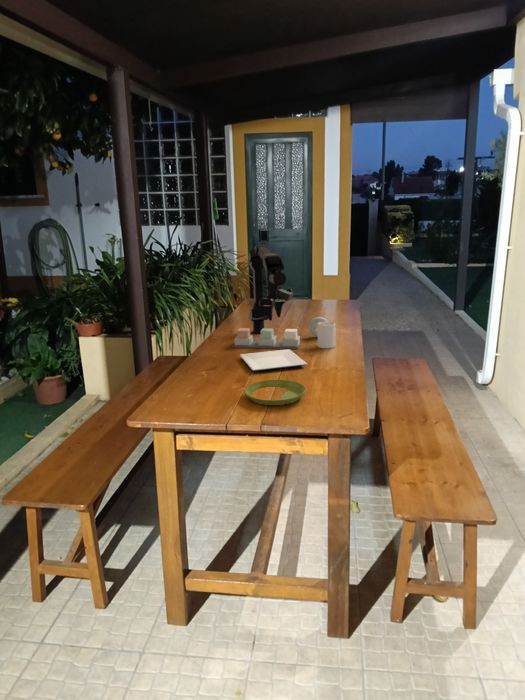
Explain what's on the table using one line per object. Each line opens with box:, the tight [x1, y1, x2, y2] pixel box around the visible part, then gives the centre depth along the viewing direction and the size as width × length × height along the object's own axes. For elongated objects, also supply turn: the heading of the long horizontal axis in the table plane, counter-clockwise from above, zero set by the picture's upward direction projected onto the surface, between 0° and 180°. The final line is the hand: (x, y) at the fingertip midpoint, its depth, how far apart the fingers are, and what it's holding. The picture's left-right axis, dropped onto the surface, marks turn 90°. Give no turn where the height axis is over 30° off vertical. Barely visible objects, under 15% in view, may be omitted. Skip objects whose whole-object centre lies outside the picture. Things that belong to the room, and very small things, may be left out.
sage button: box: [260, 327, 275, 339], centre depth 250 cm, size 5×5×4 cm
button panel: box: [233, 334, 301, 350], centre depth 251 cm, size 10×29×4 cm, turn 79°
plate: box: [239, 349, 308, 372], centre depth 225 cm, size 22×22×2 cm
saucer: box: [244, 379, 306, 406], centre depth 188 cm, size 21×21×3 cm
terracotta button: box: [236, 327, 251, 339], centre depth 252 cm, size 5×5×4 cm
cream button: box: [284, 328, 298, 340], centre depth 247 cm, size 5×5×4 cm
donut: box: [308, 316, 328, 338], centre depth 260 cm, size 10×4×10 cm, turn 83°
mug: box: [317, 320, 336, 349], centre depth 247 cm, size 12×8×10 cm, turn 164°
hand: (274, 318), depth 246 cm, fingers open, 9 cm apart
